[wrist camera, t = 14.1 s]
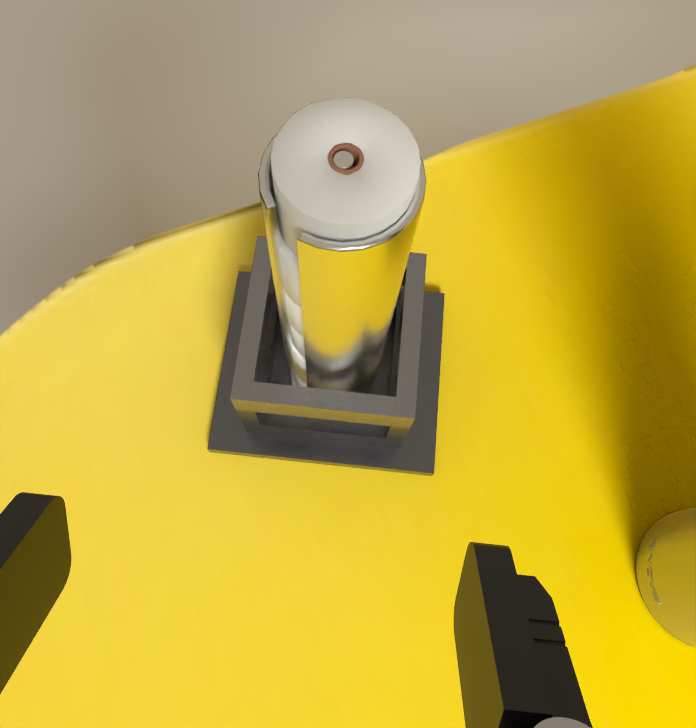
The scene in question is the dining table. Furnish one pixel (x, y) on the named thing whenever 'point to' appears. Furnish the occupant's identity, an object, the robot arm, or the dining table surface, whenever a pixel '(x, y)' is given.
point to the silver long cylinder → (339, 236)
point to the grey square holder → (330, 407)
